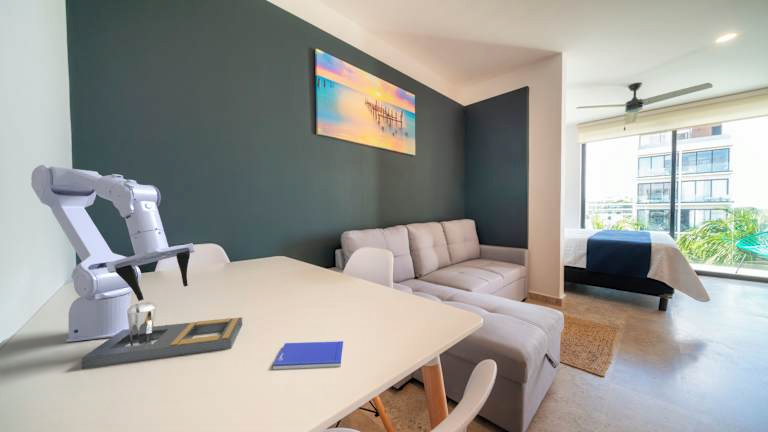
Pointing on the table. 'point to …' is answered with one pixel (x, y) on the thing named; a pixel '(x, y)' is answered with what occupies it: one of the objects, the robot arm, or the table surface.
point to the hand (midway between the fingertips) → (164, 292)
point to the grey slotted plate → (166, 342)
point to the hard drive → (309, 355)
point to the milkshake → (141, 323)
